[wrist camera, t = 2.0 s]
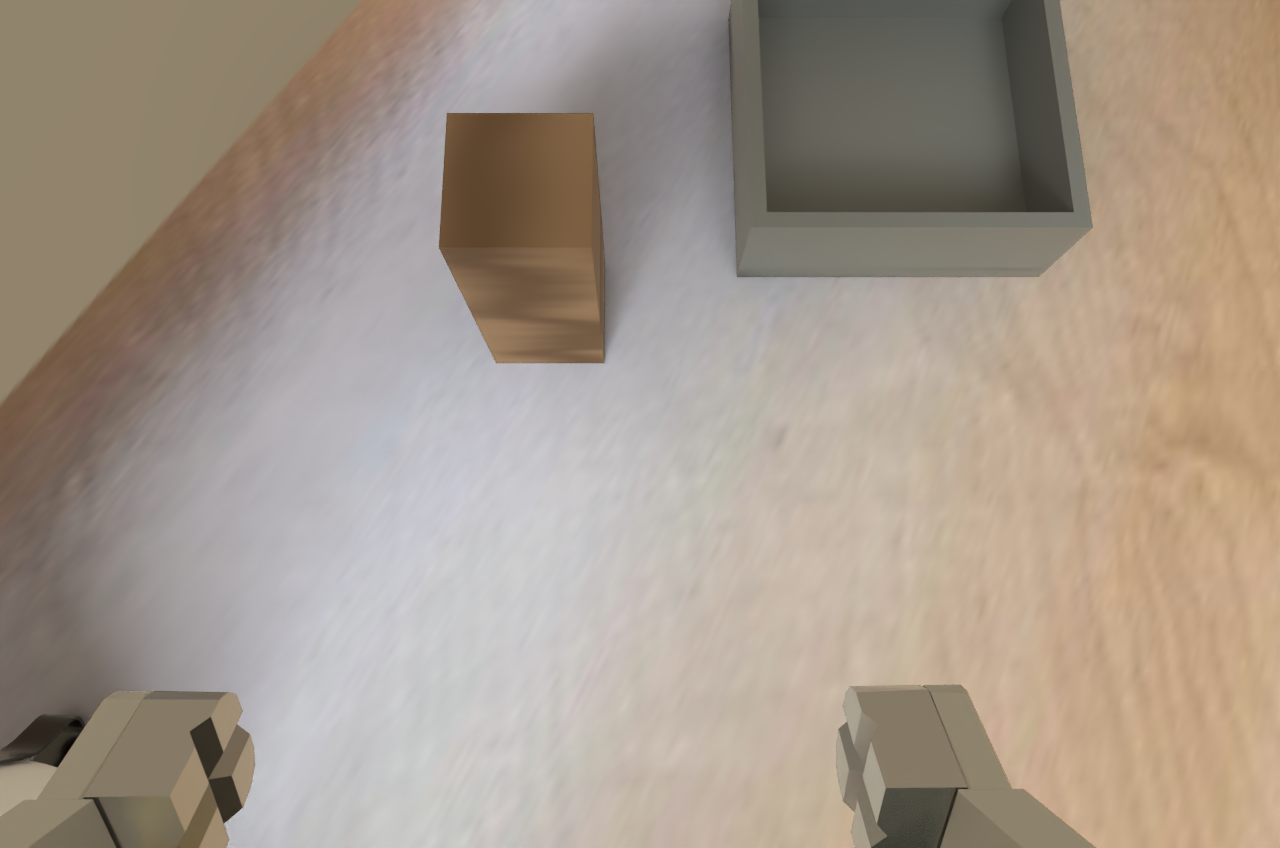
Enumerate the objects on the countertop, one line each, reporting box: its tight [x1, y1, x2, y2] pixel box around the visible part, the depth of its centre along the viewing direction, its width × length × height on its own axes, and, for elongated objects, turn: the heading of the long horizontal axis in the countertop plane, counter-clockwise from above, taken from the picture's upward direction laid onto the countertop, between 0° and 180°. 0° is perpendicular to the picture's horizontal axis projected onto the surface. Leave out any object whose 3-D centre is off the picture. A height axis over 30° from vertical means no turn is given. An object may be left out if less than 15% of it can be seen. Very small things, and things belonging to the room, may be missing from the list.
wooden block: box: [439, 113, 605, 363], centre depth 35 cm, size 5×5×12 cm
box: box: [728, 0, 1093, 277], centre depth 40 cm, size 14×14×5 cm
